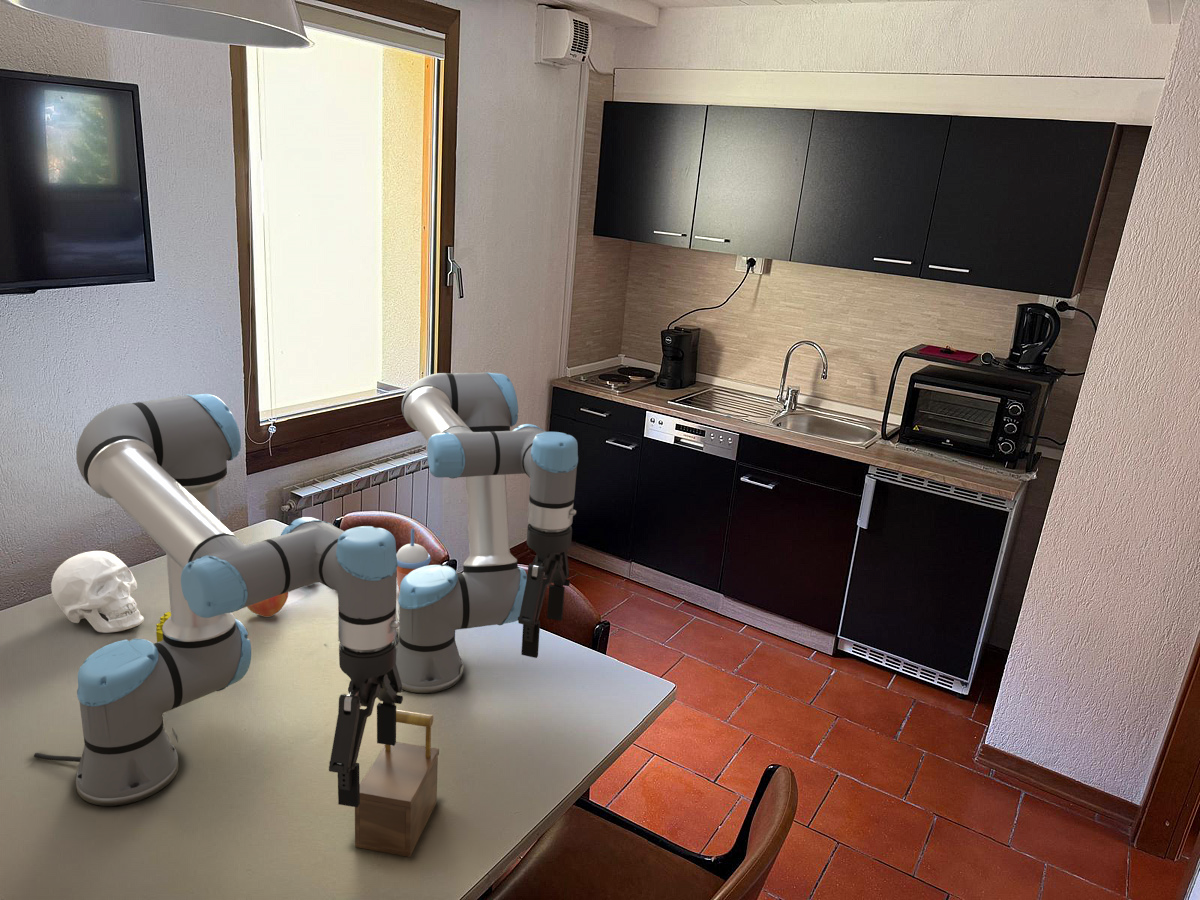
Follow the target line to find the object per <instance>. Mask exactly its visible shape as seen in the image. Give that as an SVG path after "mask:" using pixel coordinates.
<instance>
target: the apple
mask: <svg viewBox="0 0 1200 900" xmlns="http://www.w3.org/2000/svg"><path fill="white" fill-rule="evenodd" d="M288 597H289V592H286V593H284V594H280V595H277V596H275V597H272V598H269V599H266V600H264V601H261V602H258V603H255V604H253V605H250V606H247V607H246V608H247V609H248V610H249V611H250V612H252V613H253V614H255V615H257V616H261V617H265V618H269V617H273V616H275V615H276V614H278V613H279V612H280V611H281V610H282V609H283V607H284V606H285V605H286V603H287V600H288Z"/></svg>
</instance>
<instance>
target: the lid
mask: <svg viewBox="0 0 1200 900" xmlns="http://www.w3.org/2000/svg"><path fill="white" fill-rule="evenodd" d="M396 723H399V724H407V725H412V726H417V727H424V728H425V746H424V745H419V744H413V743H406V742H400V741H396V744H395V745H394V746H392V745H386V744H383V747H382V748H381V750H380V752H378V755H377V756H376V757H375V759H374V761H373V763H372V764H371V766H370V767H369V769H368V770H367V771H366V773H365V775H364V777H363V778H362V780H361V781H360V782H359V783H360V799H365V800H371V801H377V802H382V803H388V804H394V805H400V806H405V807H411V806H412V804H413V802H414V800H415V798H416V796H417V794H418V793H419V791H420V789H421V787H422V785H423V783H424V781H425V779H426V778H427V776H428V774H429V772H430V770H431V768H432V766H433V764H434V762H435V761H436V759H437V757H438V758H439V755H440V749H439V748H437V747H432V726H433V723H434V715H433V714H427V713H421V712H415V711H409V710H403V709H397V708H396Z"/></svg>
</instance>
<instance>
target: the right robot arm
mask: <svg viewBox="0 0 1200 900" xmlns="http://www.w3.org/2000/svg"><path fill="white" fill-rule="evenodd" d="M402 397H403V398H402V400H401V412H402V416H403V418H404V420H405V422H406V423H407V425H408V426H409V427H410V428H411V429H413V430H414V431H415V432H419V433H421V435H422V436H423V438H424V439H425V441H426V442H427V447H426V449H427V450H426V452H427V453H426V455H427V466H428V468H429V473H430V474H431V475H432V476H433V477H434V478H437V479H438V478H439V479H440V478H443V479H444V478H449V479H457V478H465V490H466V491H465V492H466V512H467V529H468V531H467V532H468V546H469V547H468V549H469V551H468V552H469V555H468V557H467V558H466V560H465V561H464V562H462V569H463V571H462V572H460V573H458V572H457V571H456V569H455V568H453V567H451V566H449V565H441V564H430V565H429V564H428V566H424V567H421V568H418V569H415V570H413V571H412V572H410V573H409V574H408V575H406V576H405V577H404V578H403V580H402V582H401V584H400V592H399V591H398V598H397V601H398V622H399V627H398V631H397V629H396V637H395V639H396V666H397V669H398V673H399V676H400V680H401V683H402V690H404V691H407V692H410V693H416V694H430V693H431V694H432V693H438V692H441V691H445V690H447V689H450V688H451V687H453V686H455V685H456V684H457V683H458V682H459V681H460V680H461V679H462V676H463V672H464V666H465V665H464V664H465V663H464V662H463V660H462V657H461V656H460V653H459V649H458V646H457V642H456V631H457V630H465V629H473V628H474V629H475V628H481V627H488V626H489V627H490V626H503V625H505V624H512V623H516V622H517V623H518V624H520V625H522V636H521V654H520V655H522V656H525V657H530V658H534V659H538V657H539V646H540V645H539V644H540V631H541V621H540V620H539V619H540V615H541V612H542V608H543V604H544V600H545V597H546V592H547V589H548V600H547V613H546V614H547V615H546V619H549V620H554V621H559V622H562V621H563V617H564V603H565V590H566V589H565V588H566V587H569V586H570V584H571V580H570V579H569V578H570V566H569V559H568V550H569V549H570V548H571V546H572V537H573V527H572V524H573V520H574V516H576V515H577V510H576V509H574V503H575V494H576V493H575V492H576V484H577V483H576V482H577V469H578V464H579V455H578V454H579V452H578V451H579V450H578V449H579V448H578V447H579V446H578V440H577V439H576V438H575V437H574V436H573V435H571V434H567V433H565V432H559V431H547V430H544V429H543V428H540V427H539V426H537V425H535V424H531V423H525V424H520V425H518V426H517V427H515V428H514V429H512V430H511V428H512V427H514V426H515V425H517V423H518V420H519V415H518V414H519V402H518V396H517V393H516V389H515V387H514V385H513V383H512V381H511V379H510V378H509V377H508V376H507V375H506V374H503V373H499V372H498V373H497V372H488V371H486V372H453V373H452V372H449V373H448V372H447V373H446V372H437V373H432V374H429V375H426V376H424V377H422V378H419V379H418V380H416V381H415V382H414V383H412V384H411V385H410V386H409V387H408V389H406V391H405V393H404V395H403V396H402ZM524 474H525V475H526V476H527V477H528V478H529V497H528V508H527V522H528V525H527V529H526V530H527V531H526V545H527V546H528V548H529V549H531V550H533V552H535V554H536V555H535V556H534V557H533V559H532V563H529V564H528V566H527V572H526V570H525V568H523V567H521V566H519V565H518V558H516V557H515V556H514V555H513V554H512V553H511V550H510V549H511V548H510V547H511V546H510V532H509V531H510V530H509V513H508V512H509V511H508V493H507V476H506V475H524Z"/></svg>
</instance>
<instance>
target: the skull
mask: <svg viewBox="0 0 1200 900" xmlns="http://www.w3.org/2000/svg"><path fill="white" fill-rule="evenodd" d="M51 578H52V579H51V584H50V589H51V595H52V597H53V601H54V602H55V603H56V605H57V606H58V608H59V609H60V610H61V612H63V614H64V615H65V617H66V618H67V619H68V620H69V621H70V622H71V623H75V624H78V623H80V622H81V620H82V619H85V620H87V622H88V623H89V624H90V625H91V626H92V628H93V629H94V630H95V631H96V632H98V633H104V634H105V633H106V634H108V633H109V634H110V633H117V632H122V631H125V630H129V629H132V628H135V627H137V626H140V625H141V624H142V623H144V620H145V617H144V616H143V615H142V614H141V612H140V609H138V607H137V606H138V603H137V602H136V600H135V599H134V598H133V597H132V594H133V593H134V592H136V591H137V590H138V583H137V580H136V578H135V577H134V574H133V572H132V571H131V569H130V568H129V567H128V566H127V565H126V563H124V562H123V561H122V560H121V559H120V558H119V557H117V556H116V555H115V554H114V553H112V552H109V551H105V550H90V551H84V552H81V553H78V554H76V555H74V556H71V557H69V558H68V559H66V560H64V561H63V562H62V563H61V564H60V565H59V566H58V567H57V569H56V570H55V572H54V573H53V574H52V577H51ZM101 614H102V615H104V616H105V617H106V618H107V619H108V620H106V619H104V618H103V617H102V616H101Z"/></svg>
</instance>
